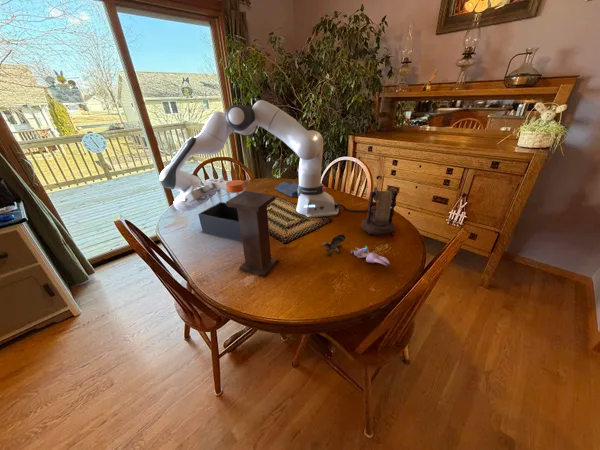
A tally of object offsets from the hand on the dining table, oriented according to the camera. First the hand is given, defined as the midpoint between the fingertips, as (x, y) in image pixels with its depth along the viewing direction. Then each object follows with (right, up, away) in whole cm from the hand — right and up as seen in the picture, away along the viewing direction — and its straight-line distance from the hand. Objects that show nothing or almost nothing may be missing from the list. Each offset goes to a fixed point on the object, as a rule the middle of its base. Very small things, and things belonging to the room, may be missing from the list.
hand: (216, 182), depth 100 cm
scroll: (+70, -20, +7) cm, 73 cm away
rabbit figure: (+60, -31, -13) cm, 69 cm away
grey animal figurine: (+48, -28, -7) cm, 56 cm away
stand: (+20, -32, -15) cm, 41 cm away
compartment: (+4, -20, +9) cm, 22 cm away
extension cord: (+4, -2, -1) cm, 5 cm away
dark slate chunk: (+30, +4, +53) cm, 61 cm away
